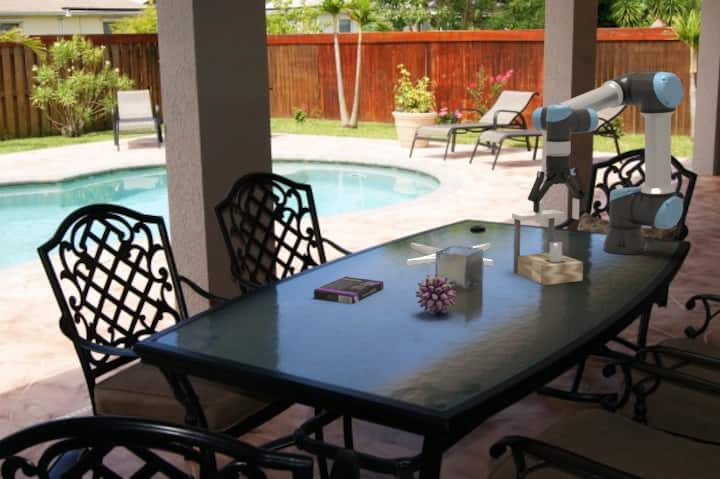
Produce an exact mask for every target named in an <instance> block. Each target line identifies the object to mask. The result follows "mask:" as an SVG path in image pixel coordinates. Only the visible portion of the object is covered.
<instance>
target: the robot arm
mask: <svg viewBox="0 0 720 479" xmlns="http://www.w3.org/2000/svg"><path fill="white" fill-rule="evenodd" d="M683 97H684V88H683V84H682V82H681V79H680V78H679V77H678V76H677V75H676V74H675V73H673V72H666V71H633V72H629V73H625V74H622V75H619V76H617V77H615V78H613V79H609V80H607V81H605V82H603V84H602V85H601V86H599V87H597V88H594V89H592V90H590V91H587V92H585V93H583V94H579V95H578V96H575V97H572V98H571V99H570V98H569V99H568V100H565V101H563V102H559V103H558V104H550V105H548V106H547V107H546V106H542V107H541V106H540V107H537V108H536V109H535V110H534V111H533V113H532V115H531V121H532V126H533V127H534V128H535V129H536V130H540V131H544V132H545V133H546V135H545V136H546V138H545V140H546V141H545V142H546V145H545V148H546V150H545V153H546V156H545V166H546V168H545V169H546V170H545V171H542V170H537V172H536V178H535V181H534V183H533V185H532V187H531V190H530V192H529V195H528V196H527V200H528V201H529V202H532V203H533V204H532V205H533V206H532V207H533V209H532V210H533V211H534V212H535V220H534V222H535V223H538V224H543V219H542V211H543V202H541V201H542V200H543V198H544V196H545V195H546V194H547V193H548V191H549V189H550V188H551V187H552V186H553V185H559V184H560V185H565V186H566V188H567V189H568V190H569V191H570V192H571V194H572V195H573V198H572V206H571V207H572V209H571V210H572V213H571V214H572V215H571V216H572V217H571V218H572V219H574V220H579V219H580V209H581V208H582V200H583V199H584V197H587V195H588V193H587V190H586V188H585V185H584V183H583V181H582V179H581V177H580V176H581V175H580V172H579V168H577V167H572V168H570V166H571V155H570V154H571V146H572V145H571V142H572V141H571V138H572V137H571V136H572V135H573V134H583V133H585V134H586V133H590V132H593V131H595V130H596V129H597V128H598V126H599V115H598V112H601V111H603V110H605V109H608V108H612V109H614V108H615V109H616V108H618V107H622V106H633V107H635V106H636V107H639V114H641V115H642V116H643V117H644V179H645V181H644V186H643V187H642V186H633V187H632V186H631V187H621V188H615V189H612V190H611V192H610V197H609V200H608V202H609V207H608V208H609V213H608V214H609V216H608V230H607V232H606V233H607V234H606V236H605V239H604V242H603V245H602V246H603V247H602V249H603V251H604V252H606V253H610V254H611V253H612V254H618V255H640V254H643V253H646V252H647V244H646V239H645V236H644V233H643V226H646V227H650V228H656V229H663V230H664V229H665V230H669V229H672V228H673V227H675V226H676V225H677V224H678V222H679V221H680V220H681V217H682V215H683V210H684V203H683V201H682V199H681V198H680V197H679V196H678V195H677V196H676V193H677V192H676V188H675V187H674V186H673V185H672V136H671V135H672V131H671V130H672V123H671V122H672V119H671V118H672V115H674V113H675V112H676V107H678V106H679V105H681V103H682V99H683ZM570 175H571V178H572V179H573V182H574V184H573V182H572V180H571V179H570Z"/></svg>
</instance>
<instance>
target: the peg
mask: <svg viewBox="0 0 720 479" xmlns="http://www.w3.org/2000/svg"><path fill="white" fill-rule="evenodd" d="M562 255H563V242H561V241H554V242H550V249H549V263H552V264H555V263H562Z"/></svg>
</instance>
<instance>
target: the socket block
mask: <svg viewBox="0 0 720 479" xmlns="http://www.w3.org/2000/svg"><path fill="white" fill-rule="evenodd" d="M517 274H518V275H520V276H523V277H525V278H527V279H530V280H532V281H534V282H536V283H539V284H541V285H543V286H546V285H547V286H548V285H556V284H564V283H573V282H581V281H583V278H584V277H583V276H584V262H583V261H581V260H577V259H575V258H572V257H570V256H566V255H564V254H562V263H555V264H552V263H549V253H548V252H543V253H542V252H541V253H534V254H533V253H532V254H523V255H522V254H520V256H518V273H517Z"/></svg>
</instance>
